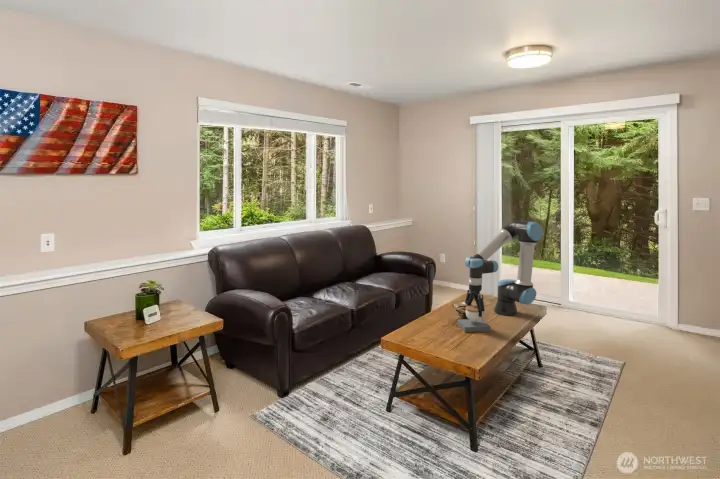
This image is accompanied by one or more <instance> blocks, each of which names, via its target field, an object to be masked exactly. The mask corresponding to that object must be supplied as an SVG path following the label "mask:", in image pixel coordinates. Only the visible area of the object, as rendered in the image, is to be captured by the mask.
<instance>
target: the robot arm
mask: <svg viewBox="0 0 720 479" xmlns="http://www.w3.org/2000/svg"><path fill="white" fill-rule="evenodd" d="M543 231H544V230H543V228H542V226H541V225H540V223H538V222H535V221H528V220H522V219H521V220H520V219H519V220H514V221H511V222H509V223H507V224H506V225H505V226H503V227H502V228H500V230H499V232H498V234H497V235H496V236H494V237H493V238H492V239H491V240H490V241H489V242H488V243H487V244H485V245H484V246H483V247H482V248H480V250H478V251H477V253H475V255H473V256H467V257H466V258H465V262H464V264H465V266H466V267H467V268H469V278H468V279H469V282H468V283H469V284H468V289H466V290H467V291H466V292H467V293H466V296H465V301H464V304H466V306H471V305H472V303H473V301H474V302H475V303H476V306H477V308H478V311H477V322H481V320H482V318H483V316H482V311H483V312H485V304H484V294H481V291H482V288H483V287H482V286H483V285H482V284H483V274H484V275H485V274H492V273H496V272H498V270H499V264H498V262H497V261H496V260H492V259H491V260H488V259H490V258H491V257H492V256H493V255H494V254H495V253H497V251H499V249H501V248H503V246H504V245H505V244H506V243H508V242H509V241H510V242H511V241H512V240H513V239H515V238H517V242H518V243H519V244H520V245H519V258H518V268H517V278H516V279H511V278H510V279H508V278H507V279H499V281H498V283H497V299H496V303H495V306H494V308H493V312H494V313H495V314H497V315H502V316H509V317H510V316H516V315H517V314H518V308H517V304H516V303H520V304H522V305H530V304H532V303H533V302H535V299H536V297H537V290H536V288H534V283H532V274H533V265H534V264H533V263H534V255H535V246H536V245H537V244H538V242H539V241H540V240H541V239H542V237H543Z"/></svg>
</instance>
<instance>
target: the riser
mask: <svg viewBox="0 0 720 479" xmlns="http://www.w3.org/2000/svg"><path fill="white" fill-rule="evenodd" d="M457 325H458V327H459V328H460V329H461V330H462V331H463V332H464V333H473V332H474V333H476V332H477V333H479V332H482V333H483V332H491V325H489V323H487V322H486V321H485V320H484V319H482V320H481V322H473V321H470V320H469V319H468V318H466V319H457Z"/></svg>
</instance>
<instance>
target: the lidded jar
mask: <svg viewBox="0 0 720 479" xmlns="http://www.w3.org/2000/svg"><path fill="white" fill-rule="evenodd" d="M477 311H478V308H477V305H475V304H474V305H472V304H471V306H467V305H466V306H465V315H466V319H469V320H470V321H473V322H477ZM483 314H484V311H482V317H483Z"/></svg>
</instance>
